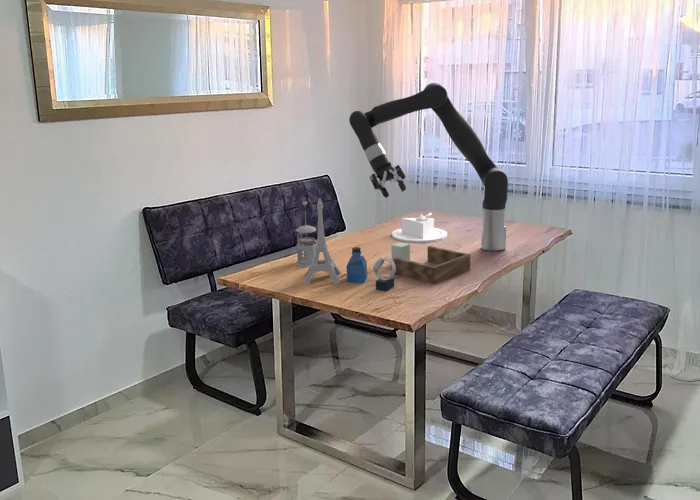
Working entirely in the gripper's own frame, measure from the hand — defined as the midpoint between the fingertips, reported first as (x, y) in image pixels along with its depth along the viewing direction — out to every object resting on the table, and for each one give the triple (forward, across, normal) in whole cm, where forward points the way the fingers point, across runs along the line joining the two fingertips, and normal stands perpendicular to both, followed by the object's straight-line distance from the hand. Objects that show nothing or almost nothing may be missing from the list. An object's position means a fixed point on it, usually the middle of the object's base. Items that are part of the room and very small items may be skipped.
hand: (395, 193), depth 264 cm
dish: (+15, +26, +34) cm, 45 cm away
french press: (+8, -35, +26) cm, 45 cm away
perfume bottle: (+25, -32, +1) cm, 41 cm away
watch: (+32, -30, -10) cm, 45 cm away
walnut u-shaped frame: (+34, -6, -5) cm, 35 cm away
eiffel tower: (+18, -41, +9) cm, 46 cm away
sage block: (+26, -8, +7) cm, 28 cm away
